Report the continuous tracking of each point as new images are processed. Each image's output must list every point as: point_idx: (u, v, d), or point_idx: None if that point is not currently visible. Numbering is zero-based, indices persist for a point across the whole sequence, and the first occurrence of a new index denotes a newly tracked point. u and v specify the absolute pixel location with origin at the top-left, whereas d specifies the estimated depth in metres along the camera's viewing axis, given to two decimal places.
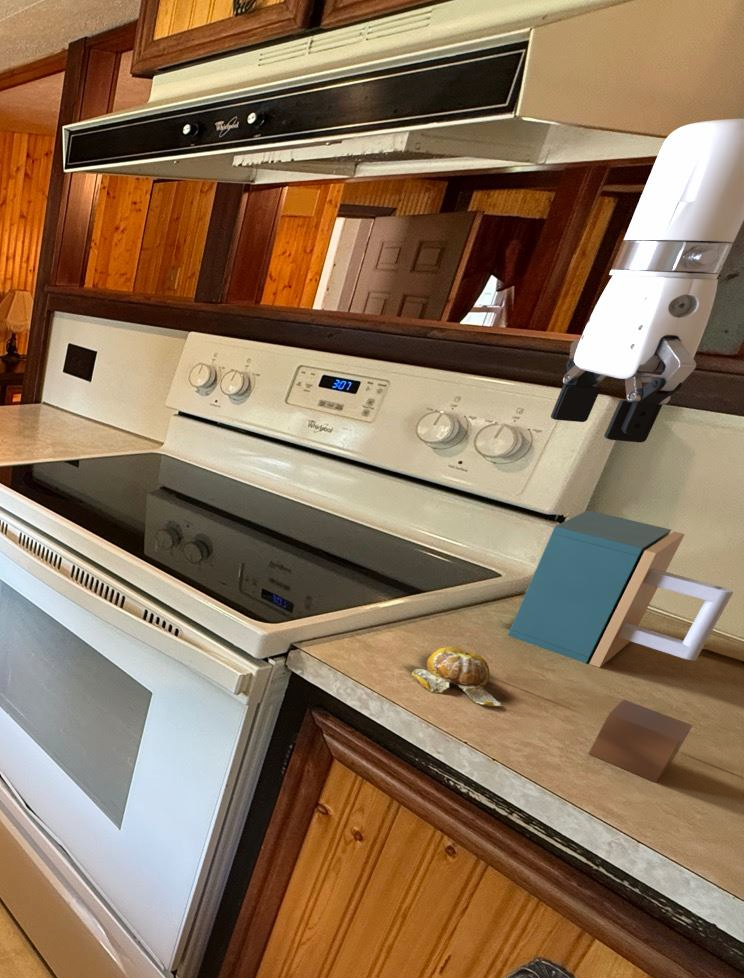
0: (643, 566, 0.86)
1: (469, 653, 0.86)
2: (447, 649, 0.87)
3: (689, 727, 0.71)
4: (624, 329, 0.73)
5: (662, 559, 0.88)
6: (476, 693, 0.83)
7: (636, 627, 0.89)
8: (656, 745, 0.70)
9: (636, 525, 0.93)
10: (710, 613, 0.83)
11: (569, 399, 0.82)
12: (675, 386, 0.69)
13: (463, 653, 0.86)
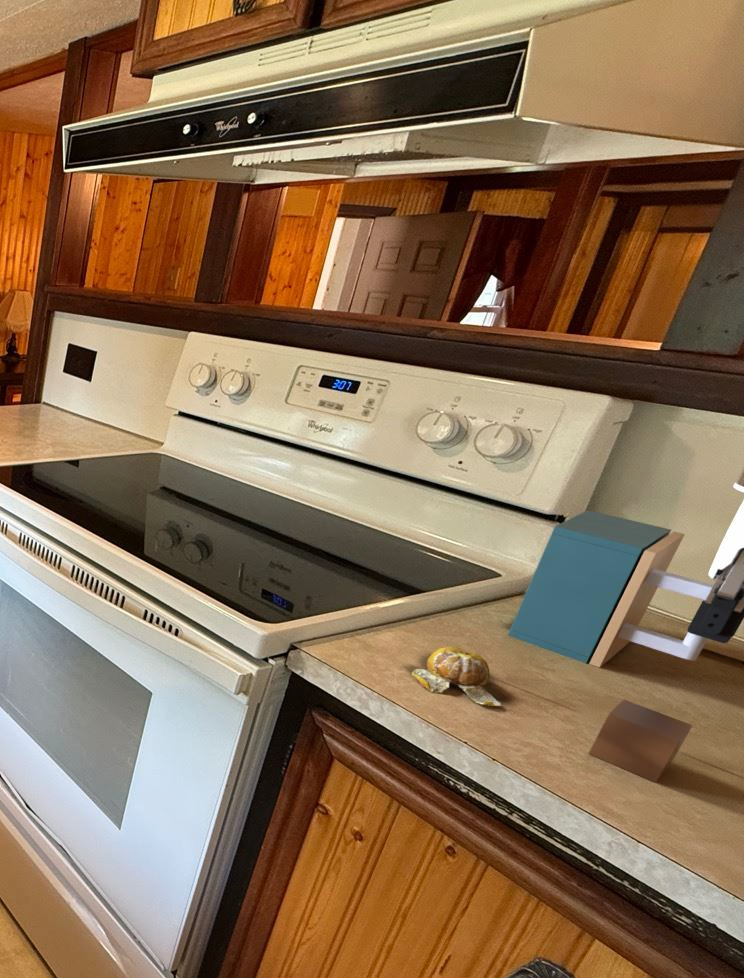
0: (643, 566, 0.86)
1: (469, 653, 0.86)
2: (447, 649, 0.87)
3: (689, 727, 0.71)
4: None
5: (662, 559, 0.88)
6: (476, 693, 0.83)
7: (636, 627, 0.89)
8: (656, 745, 0.70)
9: (636, 525, 0.93)
10: None
11: None
12: (732, 599, 0.79)
13: (463, 653, 0.86)
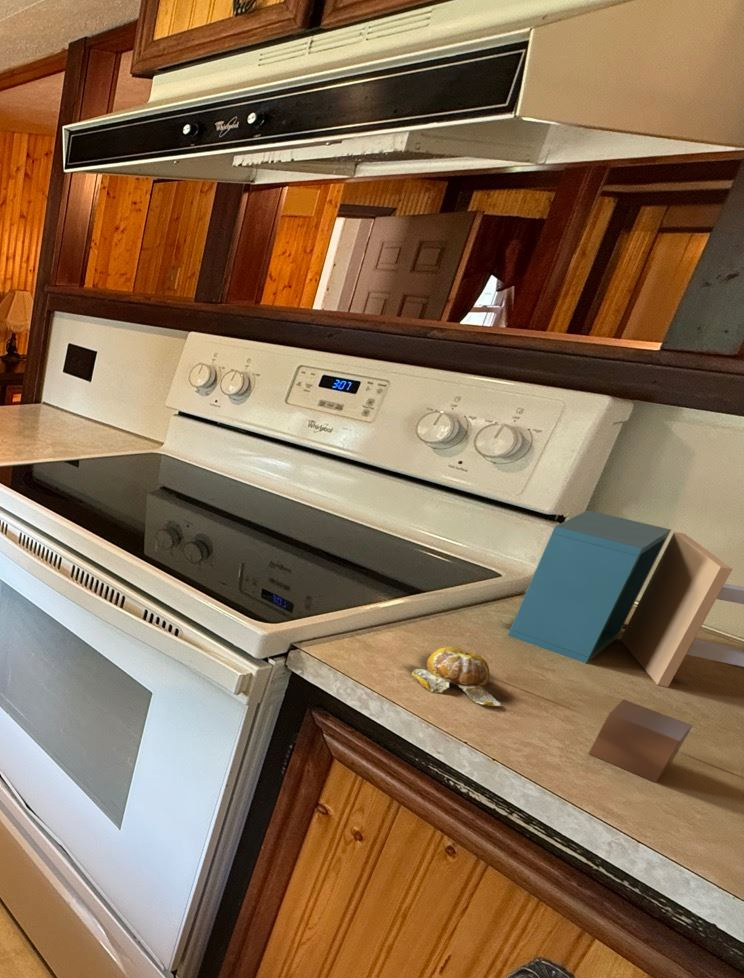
0: (718, 583, 0.82)
1: (469, 653, 0.86)
2: (447, 649, 0.87)
3: (689, 727, 0.71)
4: None
5: None
6: (476, 693, 0.83)
7: (695, 641, 0.86)
8: (656, 745, 0.70)
9: (636, 525, 0.93)
10: None
11: None
12: None
13: (463, 653, 0.86)
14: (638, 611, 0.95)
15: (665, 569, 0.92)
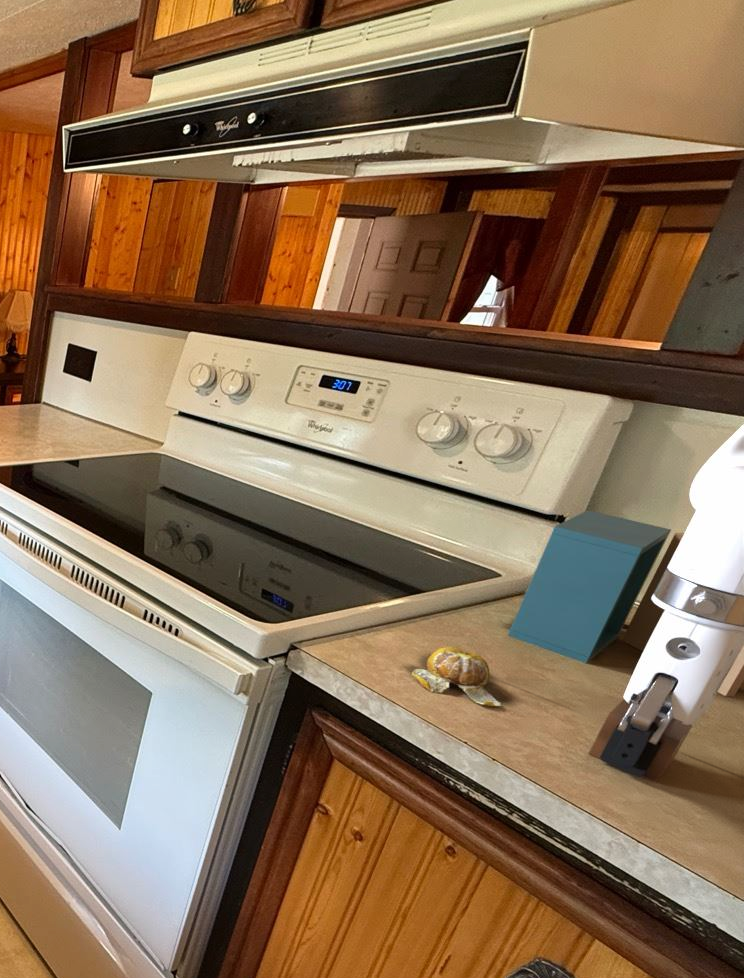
0: None
1: (469, 653, 0.86)
2: (447, 649, 0.87)
3: (689, 727, 0.71)
4: None
5: None
6: (476, 693, 0.83)
7: None
8: None
9: (636, 525, 0.93)
10: None
11: None
12: (646, 729, 0.69)
13: (463, 653, 0.86)
14: (644, 613, 0.95)
15: None
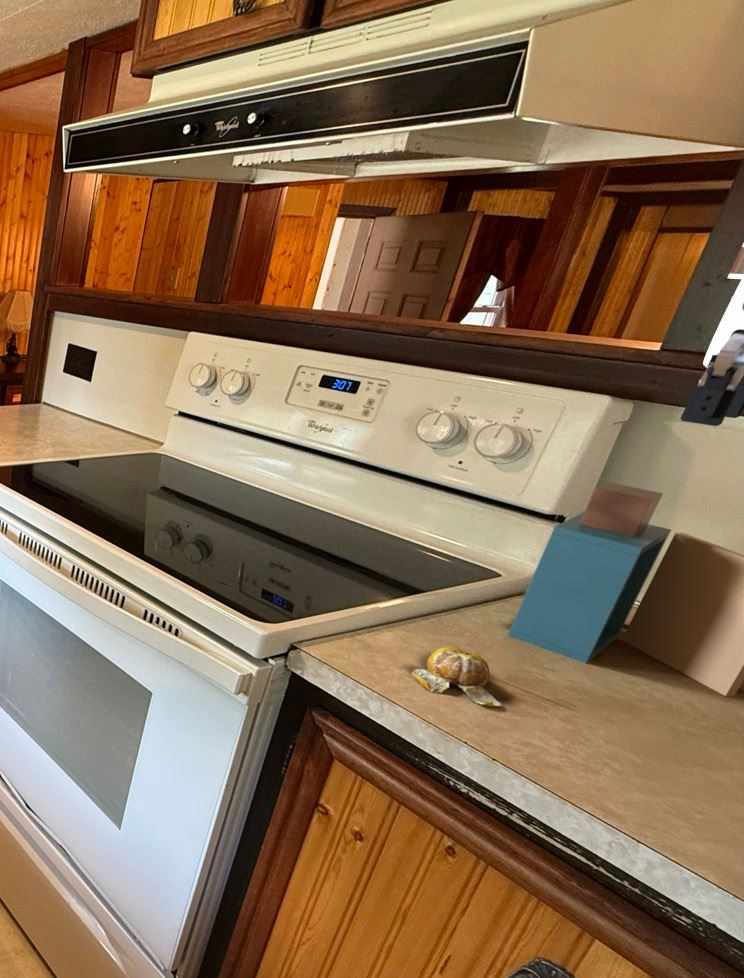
0: None
1: (469, 653, 0.86)
2: (447, 649, 0.87)
3: (660, 494, 0.89)
4: None
5: None
6: (476, 693, 0.83)
7: None
8: (633, 506, 0.88)
9: None
10: None
11: None
12: (725, 372, 0.80)
13: (463, 653, 0.86)
14: (644, 613, 0.95)
15: (677, 571, 0.91)
